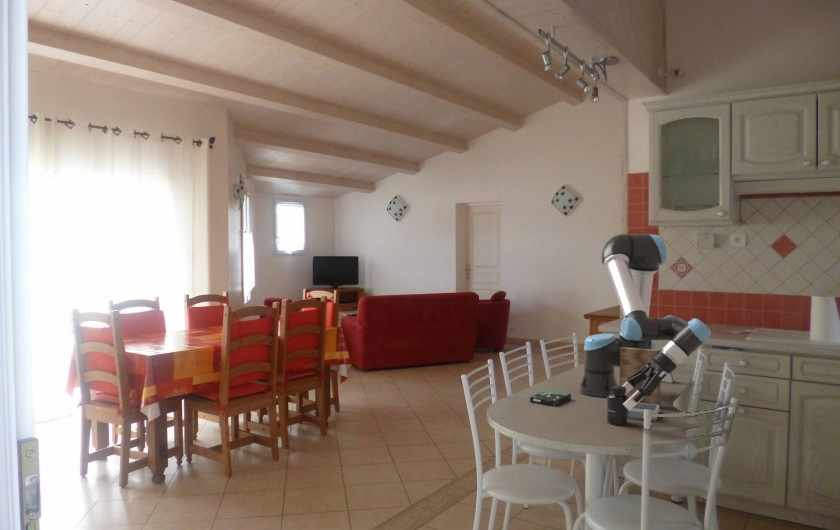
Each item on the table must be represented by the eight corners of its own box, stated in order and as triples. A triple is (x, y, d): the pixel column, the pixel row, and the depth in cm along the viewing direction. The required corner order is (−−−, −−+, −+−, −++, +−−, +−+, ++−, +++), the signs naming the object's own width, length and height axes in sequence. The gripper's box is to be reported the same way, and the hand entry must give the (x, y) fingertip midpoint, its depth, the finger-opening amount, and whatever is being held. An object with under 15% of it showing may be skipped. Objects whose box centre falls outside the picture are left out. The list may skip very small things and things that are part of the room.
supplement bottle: (605, 424, 199) (606, 388, 198) (607, 419, 205) (607, 384, 205) (627, 426, 196) (628, 390, 196) (628, 421, 203) (629, 385, 202)
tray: (613, 416, 209) (613, 409, 209) (619, 407, 221) (619, 400, 221) (656, 421, 203) (656, 413, 203) (659, 412, 215) (659, 405, 215)
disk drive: (555, 408, 221) (571, 400, 233) (555, 401, 221) (571, 393, 233) (529, 404, 227) (546, 396, 239) (529, 396, 227) (546, 389, 239)
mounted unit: (619, 404, 226) (620, 348, 225) (621, 401, 231) (622, 346, 231) (659, 408, 220) (660, 351, 219) (660, 405, 225) (661, 348, 224)
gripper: (690, 373, 185) (639, 420, 187) (665, 359, 210) (620, 401, 212) (672, 355, 186) (621, 403, 187) (649, 344, 210) (604, 386, 212)
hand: (620, 402), depth 199 cm, fingers open, 13 cm apart
